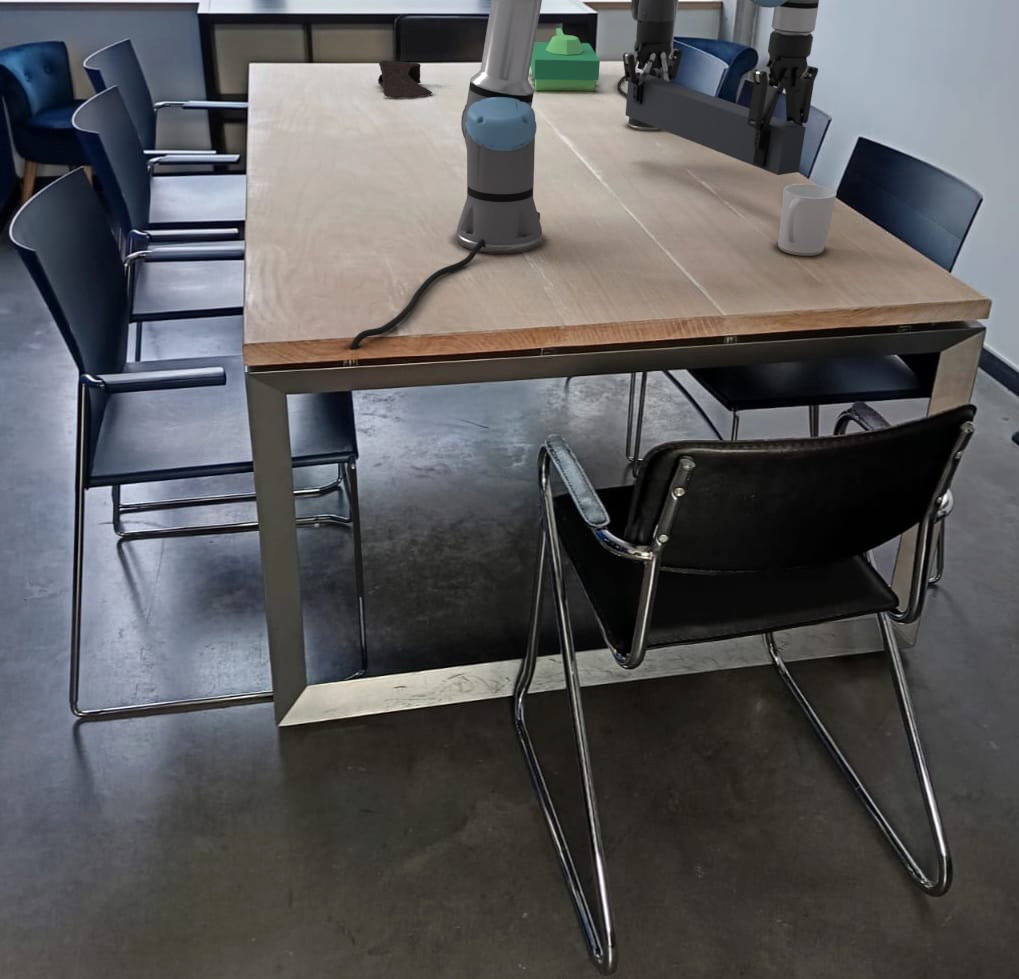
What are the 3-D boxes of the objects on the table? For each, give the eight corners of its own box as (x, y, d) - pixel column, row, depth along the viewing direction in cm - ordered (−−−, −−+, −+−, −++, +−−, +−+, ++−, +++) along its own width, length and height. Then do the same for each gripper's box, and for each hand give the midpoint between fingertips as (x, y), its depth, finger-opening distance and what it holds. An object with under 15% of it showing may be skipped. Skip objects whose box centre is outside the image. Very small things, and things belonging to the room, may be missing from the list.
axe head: (443, 87, 294) (392, 77, 287) (436, 115, 299) (385, 106, 292) (421, 62, 307) (371, 52, 300) (414, 89, 311) (365, 80, 304)
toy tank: (587, 25, 326) (600, 46, 296) (584, 68, 332) (597, 93, 303) (528, 24, 325) (535, 44, 295) (526, 67, 331) (534, 92, 302)
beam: (798, 172, 204) (805, 127, 200) (777, 175, 202) (784, 129, 198) (644, 113, 241) (647, 74, 237) (625, 115, 239) (628, 76, 235)
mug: (789, 236, 200) (798, 180, 195) (834, 247, 195) (845, 190, 190) (760, 251, 193) (769, 193, 188) (807, 263, 188) (817, 204, 183)
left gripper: (816, 26, 201) (794, 154, 213) (738, 30, 193) (720, 163, 205) (845, 32, 195) (821, 164, 207) (766, 37, 187) (746, 173, 200)
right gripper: (673, 12, 232) (665, 95, 241) (616, 16, 226) (611, 101, 235) (694, 17, 226) (686, 102, 235) (637, 21, 220) (630, 109, 229)
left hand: (771, 163), depth 206 cm, fingers closed on beam, 5 cm apart
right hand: (648, 101), depth 235 cm, fingers closed on beam, 5 cm apart
